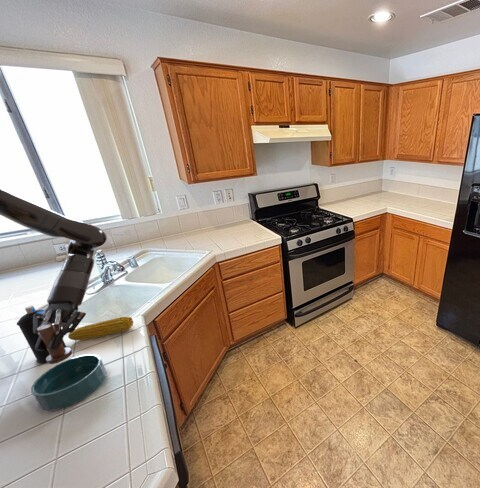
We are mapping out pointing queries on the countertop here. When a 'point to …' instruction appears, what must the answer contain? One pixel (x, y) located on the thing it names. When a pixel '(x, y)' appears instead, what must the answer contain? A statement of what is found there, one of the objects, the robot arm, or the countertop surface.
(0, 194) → the robot arm
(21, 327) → the aerosol can
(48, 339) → the brown wooden peg
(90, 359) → the bowl
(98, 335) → the food
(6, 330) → the countertop surface
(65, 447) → the countertop surface
